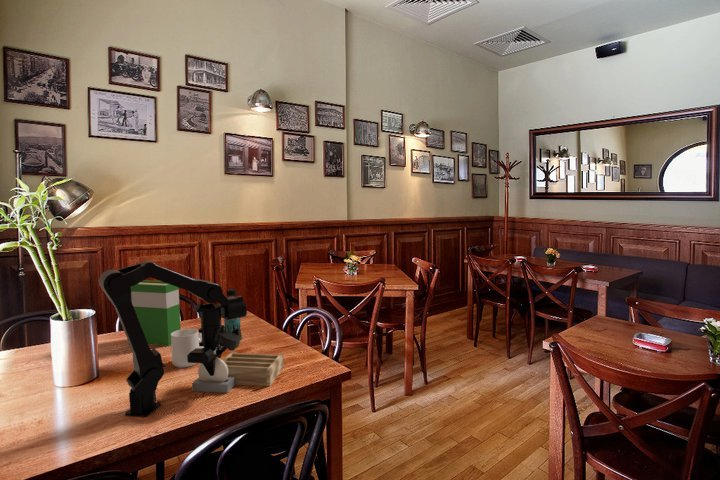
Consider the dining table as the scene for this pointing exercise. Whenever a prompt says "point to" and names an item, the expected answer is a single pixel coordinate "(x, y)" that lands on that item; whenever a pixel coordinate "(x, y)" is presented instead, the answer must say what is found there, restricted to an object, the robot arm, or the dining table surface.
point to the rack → (254, 368)
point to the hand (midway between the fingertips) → (213, 374)
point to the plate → (219, 373)
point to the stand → (213, 385)
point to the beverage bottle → (235, 323)
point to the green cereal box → (157, 310)
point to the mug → (184, 346)
